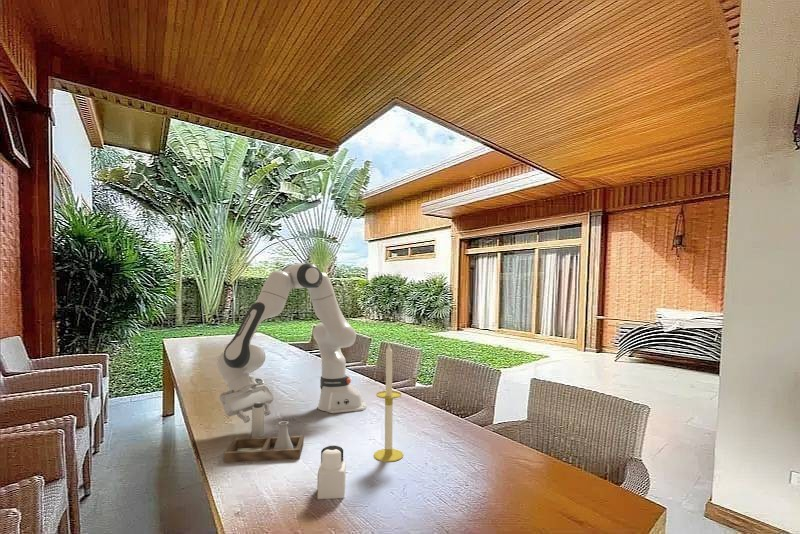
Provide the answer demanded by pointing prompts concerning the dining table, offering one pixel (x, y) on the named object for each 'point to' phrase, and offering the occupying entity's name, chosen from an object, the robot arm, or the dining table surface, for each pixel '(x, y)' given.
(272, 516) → the dining table surface
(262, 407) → the white capped tube
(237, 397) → the robot arm
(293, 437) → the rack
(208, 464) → the dining table surface
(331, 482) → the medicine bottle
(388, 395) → the candle
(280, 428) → the flask
